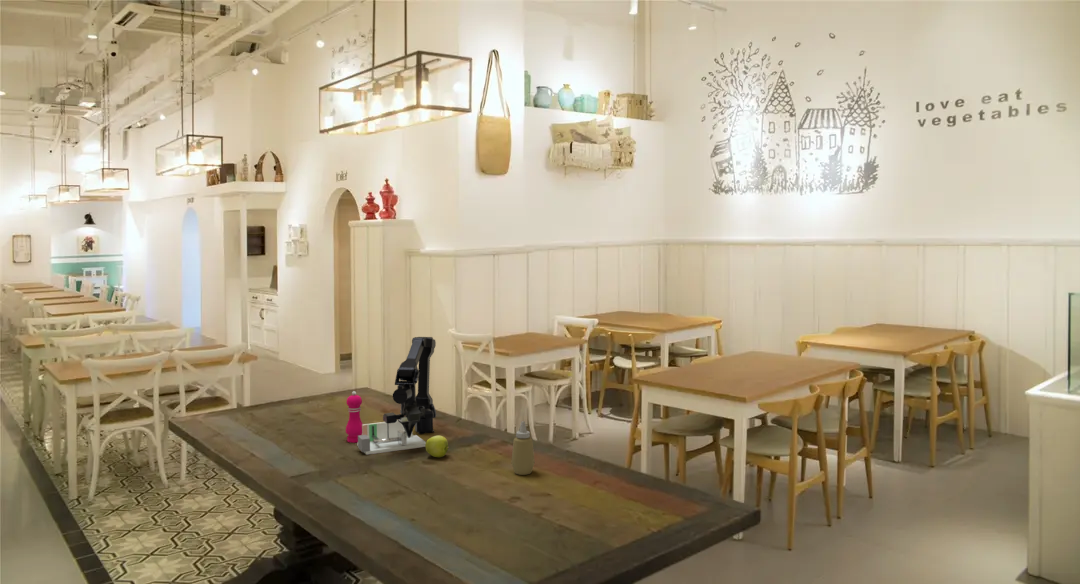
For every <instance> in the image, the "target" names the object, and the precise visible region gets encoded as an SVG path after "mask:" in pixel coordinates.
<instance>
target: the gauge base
mask: <svg viewBox="0 0 1080 584" xmlns="http://www.w3.org/2000/svg"><path fill="white" fill-rule="evenodd" d="M407 421H408V420H407ZM372 426H374V435H375V436H376V437H378V438H379V439H387V438H394V437H398V430H404V427H403V425H402V424H401V423H400V422H399V421H398V419H397V421H396V422H395V423H386V422H385V421H382V422H381V421H380V422H373V423H363V425H362V435H359V436H358V442H356V445H357V447H358V450H359V451H361V452H362V453H363V454H365V455H366V456H367V455H373V454H380V453H381V454H382V453H389V452H396V451H397V452H398V451H404V450H411V449H417V448H426V447H425V444H426V441H425V440H424V439H423V438H421V437H420V436H418V435H417V434H415V435H414V434H413V433H412V434H411V437H410V438H408V437H407V445H403V446H401V445H400V444H399V443H398V441H396V442H389V443H381V444H374V443H373V441H374V439H373V438H372ZM404 431H405V430H404ZM406 435H407V434H406Z"/></svg>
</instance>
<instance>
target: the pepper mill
mask: <svg viewBox="0 0 1080 584" xmlns="http://www.w3.org/2000/svg"><path fill="white" fill-rule="evenodd" d="M362 399H363V398H362V396H360V395H358V394H357V392H356V391H354V390H353V391H352V392H351V395H349V396H348V397H347V398H346V405H347V406H348V408H347V411H348V414H349V415H348V417H349V418H348V421H347V423H346V426H345V433H346V434H347V436H346V442H347V443H356V444H357V443H358V436H359V435H362V425H363V424H364V423H363V421H362V419H361V415H360V414H361V411H362V410H361V409H362V407H361V406H362V405H363V400H362Z"/></svg>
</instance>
